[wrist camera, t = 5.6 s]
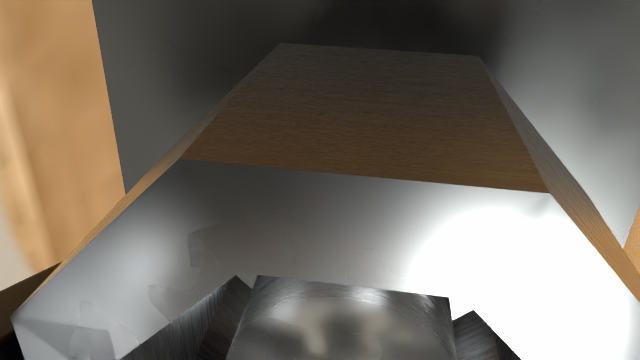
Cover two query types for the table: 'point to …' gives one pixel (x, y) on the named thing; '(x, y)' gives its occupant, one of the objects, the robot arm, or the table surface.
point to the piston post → (385, 34)
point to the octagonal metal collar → (348, 218)
